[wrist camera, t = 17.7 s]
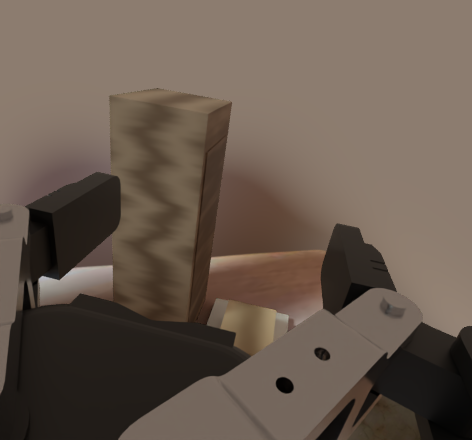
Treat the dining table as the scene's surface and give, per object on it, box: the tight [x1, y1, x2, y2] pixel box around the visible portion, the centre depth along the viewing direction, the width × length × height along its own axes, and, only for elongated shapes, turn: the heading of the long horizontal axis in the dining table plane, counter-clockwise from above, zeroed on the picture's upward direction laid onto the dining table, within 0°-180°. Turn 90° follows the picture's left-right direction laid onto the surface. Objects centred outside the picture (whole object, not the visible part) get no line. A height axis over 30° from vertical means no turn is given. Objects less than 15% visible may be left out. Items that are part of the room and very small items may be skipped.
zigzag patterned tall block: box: [110, 88, 232, 323], centre depth 44 cm, size 10×12×32 cm
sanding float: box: [220, 299, 276, 356], centre depth 40 cm, size 7×21×4 cm, turn 170°
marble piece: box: [347, 395, 421, 440], centre depth 41 cm, size 17×15×4 cm
